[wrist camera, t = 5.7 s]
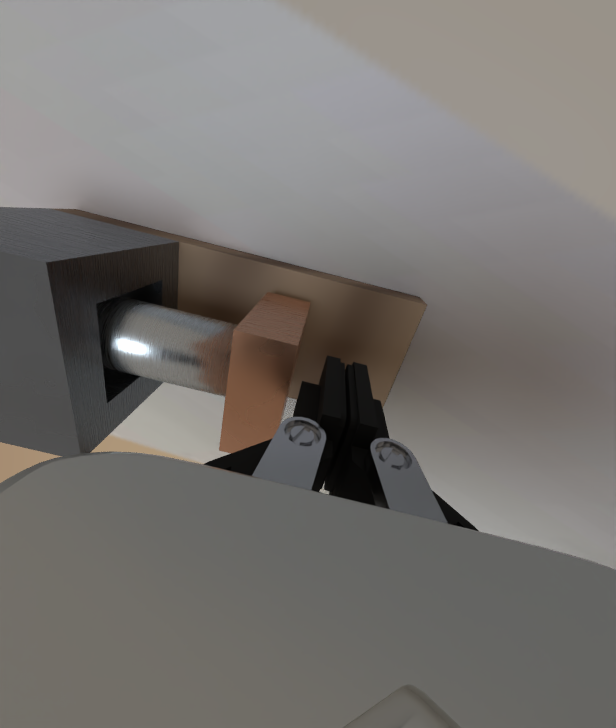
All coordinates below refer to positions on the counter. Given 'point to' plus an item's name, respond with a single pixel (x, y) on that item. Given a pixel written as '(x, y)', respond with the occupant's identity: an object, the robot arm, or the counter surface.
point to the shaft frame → (161, 287)
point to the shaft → (212, 357)
